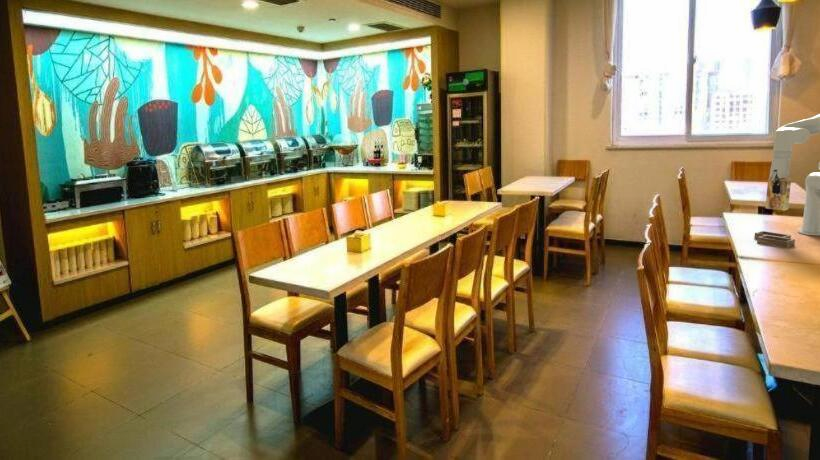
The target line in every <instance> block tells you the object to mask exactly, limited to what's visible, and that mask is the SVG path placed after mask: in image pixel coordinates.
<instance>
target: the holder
mask: <svg viewBox="0 0 820 460" xmlns="http://www.w3.org/2000/svg"><path fill="white" fill-rule="evenodd" d="M754 240H757V241H756V244H760V245H765V246H771V247H777V248H782V249H788V248H791V247H793V246H795V241H796V240H795V239H793V238H792V235H791V234H786V233H778V232H772V231H764V230H761V231H758V232H755V233H754Z"/></svg>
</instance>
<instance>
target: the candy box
mask: <svg viewBox="0 0 820 460" xmlns="http://www.w3.org/2000/svg"><path fill="white" fill-rule="evenodd" d="M776 179H778V178H776ZM777 181H778V180H777ZM772 183H773V182H772V180H771V178H770V177H768V178H767V185H766V197H765V209H769V210H778V211H787V210H789V205H790V195H791V184H792V178H789V177H787V178H783V179H781V180H780V193H779V194H777V193H772V187H773V185H772Z"/></svg>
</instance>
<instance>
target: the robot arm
mask: <svg viewBox="0 0 820 460" xmlns="http://www.w3.org/2000/svg"><path fill="white" fill-rule="evenodd" d="M819 134H820V113H819V114H817V115H815V116H813V117H810V118H807V119H806V118H805V119H802V120H798V121H794V122H791V123H786V124H785V125H783V126H781V127H779V128H777V130H776V131H775V132H774V139H773V149H772V151H773V152H772V161H771V165H770V170H769V177H768V178H771V180H772V182H773V183H772V185H773V187H772V193H777V194H779V193H780V180H781V179H783V178H789V176H790V170H791V169H790V167H791V159H792V155H793V154H792V153H793V145H796V144H799V145H801V144H805V143H806V142H808V141H809V139H810V136H813V135H814V136H815V135H819ZM818 170H819V171H816V172H811V173H809V174H808V175H807V176H806V178H805V181H804V182H805V202H804V209H803V216H802V224H801V228H798V229H797V232H798V234H802V235H806V236H813V237H814V236H815V237H817V236H818V237H820V161H819V163H818ZM776 178H778V179H776ZM777 180H778V181H777Z"/></svg>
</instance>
